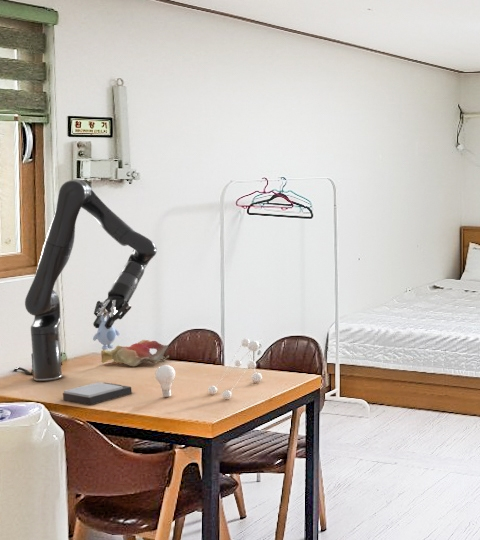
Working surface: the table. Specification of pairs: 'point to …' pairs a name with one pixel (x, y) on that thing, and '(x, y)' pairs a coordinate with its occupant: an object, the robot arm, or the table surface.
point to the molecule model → (255, 376)
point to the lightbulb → (165, 379)
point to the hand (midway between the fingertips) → (101, 327)
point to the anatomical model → (136, 353)
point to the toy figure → (106, 334)
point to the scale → (96, 393)
